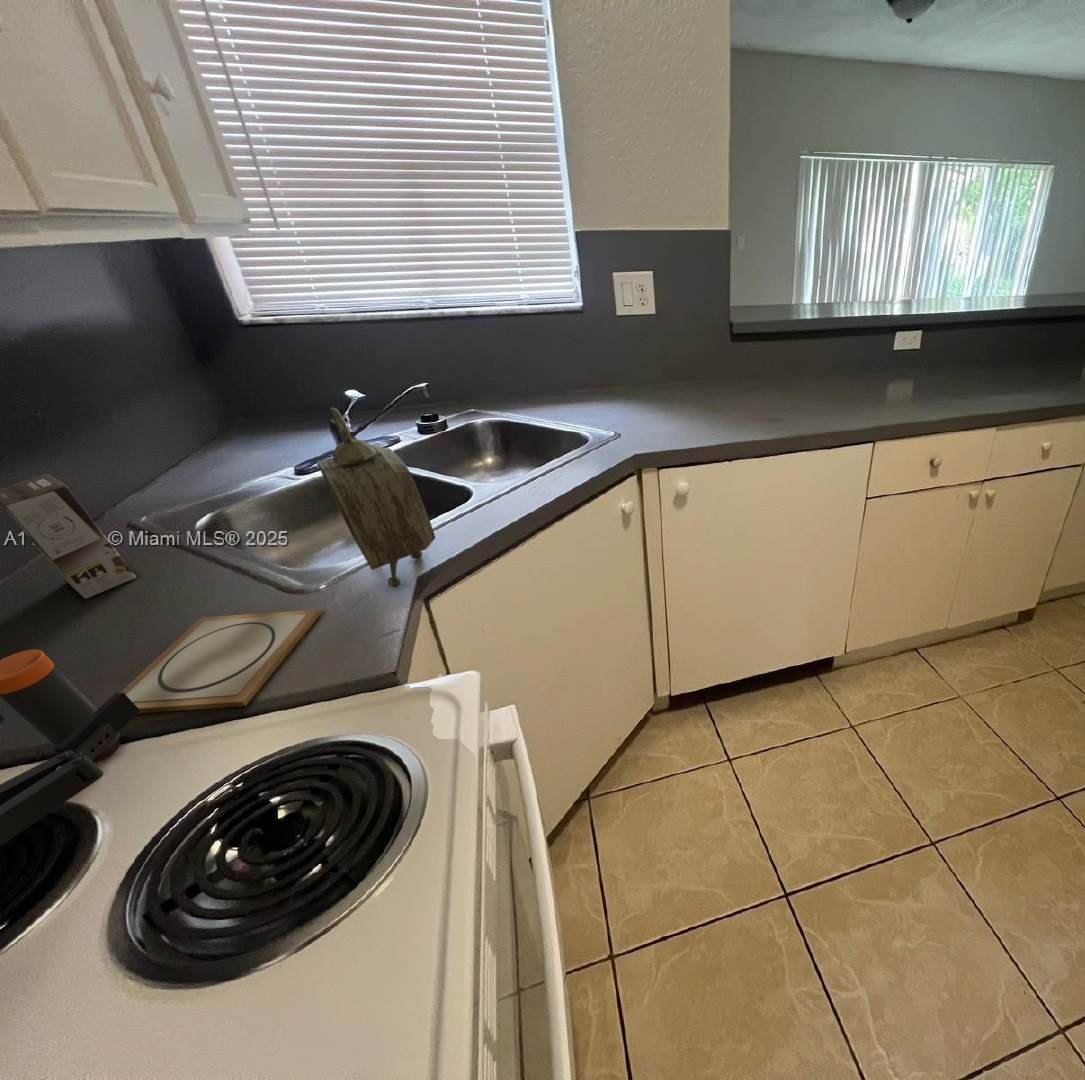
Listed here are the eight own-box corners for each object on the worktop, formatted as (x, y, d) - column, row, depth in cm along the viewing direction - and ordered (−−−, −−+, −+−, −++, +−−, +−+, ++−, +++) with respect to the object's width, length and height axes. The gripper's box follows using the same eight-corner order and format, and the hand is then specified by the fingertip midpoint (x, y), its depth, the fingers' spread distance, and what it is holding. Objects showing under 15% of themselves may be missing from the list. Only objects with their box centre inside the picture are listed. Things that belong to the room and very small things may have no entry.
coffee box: (139, 577, 87) (68, 485, 78) (84, 600, 83) (2, 506, 74) (119, 560, 92) (49, 471, 83) (66, 582, 87) (-14, 490, 78)
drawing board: (104, 715, 64) (98, 710, 64) (204, 621, 78) (200, 616, 77) (245, 706, 65) (241, 700, 64) (321, 613, 78) (318, 608, 77)
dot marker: (63, 770, 58) (-35, 683, 51) (99, 736, 62) (11, 650, 55) (105, 767, 58) (12, 680, 51) (137, 733, 62) (55, 647, 55)
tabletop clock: (361, 556, 89) (288, 404, 76) (420, 534, 94) (361, 387, 80) (386, 598, 80) (307, 434, 66) (450, 571, 85) (389, 413, 71)
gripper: (-351, 985, 41) (-37, 738, 59) (-2, 961, 41) (205, 722, 59) (-477, 940, 37) (-98, 688, 54) (-89, 913, 37) (162, 672, 55)
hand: (60, 705), depth 57 cm, fingers open, 13 cm apart
